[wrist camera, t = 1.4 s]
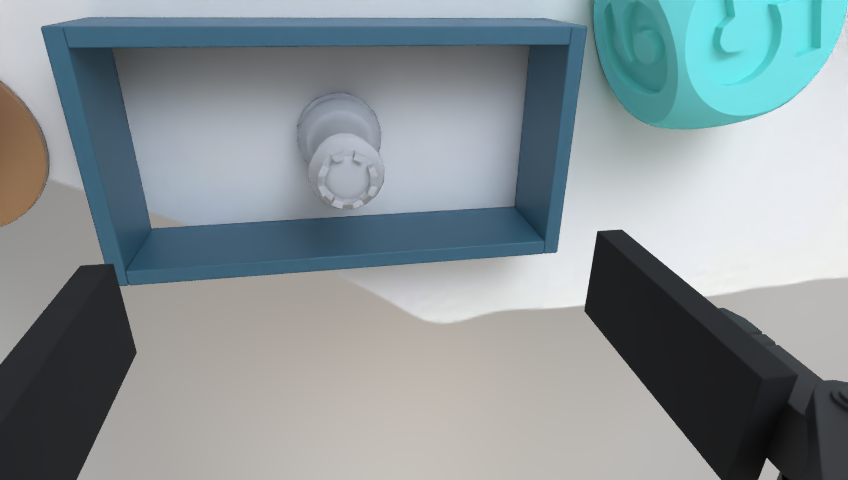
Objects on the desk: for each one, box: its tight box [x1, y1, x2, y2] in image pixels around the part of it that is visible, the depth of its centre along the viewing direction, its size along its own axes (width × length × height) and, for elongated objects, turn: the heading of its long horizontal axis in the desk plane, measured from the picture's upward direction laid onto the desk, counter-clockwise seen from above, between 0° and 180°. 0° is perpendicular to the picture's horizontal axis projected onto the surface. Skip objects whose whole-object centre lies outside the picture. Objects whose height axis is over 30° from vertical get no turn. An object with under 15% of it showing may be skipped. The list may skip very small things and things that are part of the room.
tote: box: [41, 17, 587, 286], centre depth 28 cm, size 23×12×5 cm, turn 89°
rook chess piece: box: [297, 93, 384, 209], centre depth 26 cm, size 4×4×8 cm
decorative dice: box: [594, 0, 848, 129], centre depth 27 cm, size 8×8×8 cm
